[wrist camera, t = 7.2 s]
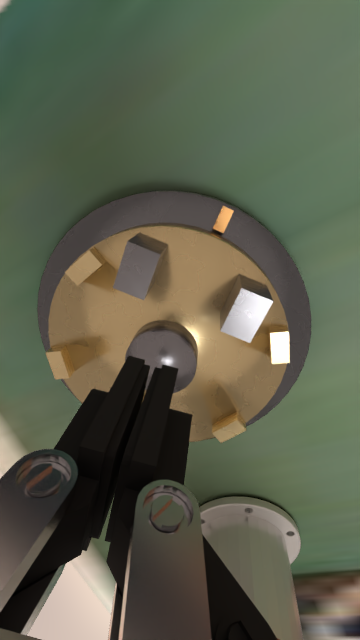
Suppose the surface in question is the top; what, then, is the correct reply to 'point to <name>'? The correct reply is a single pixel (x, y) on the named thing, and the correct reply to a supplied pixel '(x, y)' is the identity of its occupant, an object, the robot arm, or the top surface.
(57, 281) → the housing
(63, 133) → the top surface
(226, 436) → the round gold dish
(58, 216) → the top surface
